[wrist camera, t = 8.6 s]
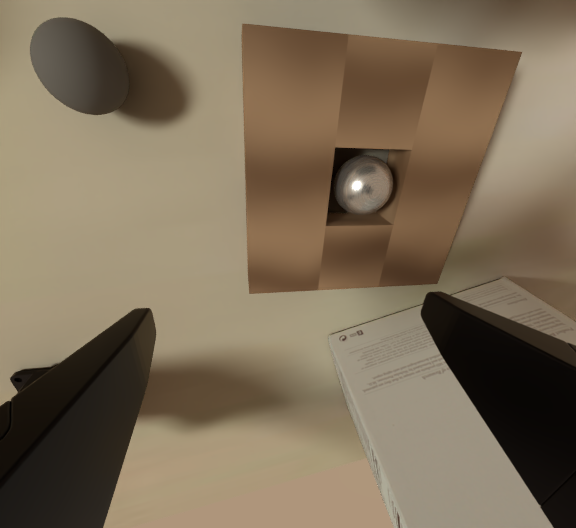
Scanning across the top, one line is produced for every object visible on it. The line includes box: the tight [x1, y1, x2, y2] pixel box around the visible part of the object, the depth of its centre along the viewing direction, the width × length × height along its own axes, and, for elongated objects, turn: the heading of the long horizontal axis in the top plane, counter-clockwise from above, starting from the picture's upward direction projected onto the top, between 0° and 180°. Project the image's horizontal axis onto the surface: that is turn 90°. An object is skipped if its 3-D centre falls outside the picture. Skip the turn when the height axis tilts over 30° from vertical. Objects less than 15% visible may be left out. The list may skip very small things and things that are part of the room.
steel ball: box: [334, 155, 393, 215], centre depth 17 cm, size 4×4×4 cm
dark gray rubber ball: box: [30, 17, 129, 115], centre depth 12 cm, size 4×4×4 cm
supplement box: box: [328, 277, 576, 528], centre depth 21 cm, size 17×13×18 cm
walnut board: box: [242, 24, 522, 294], centre depth 17 cm, size 14×14×2 cm
